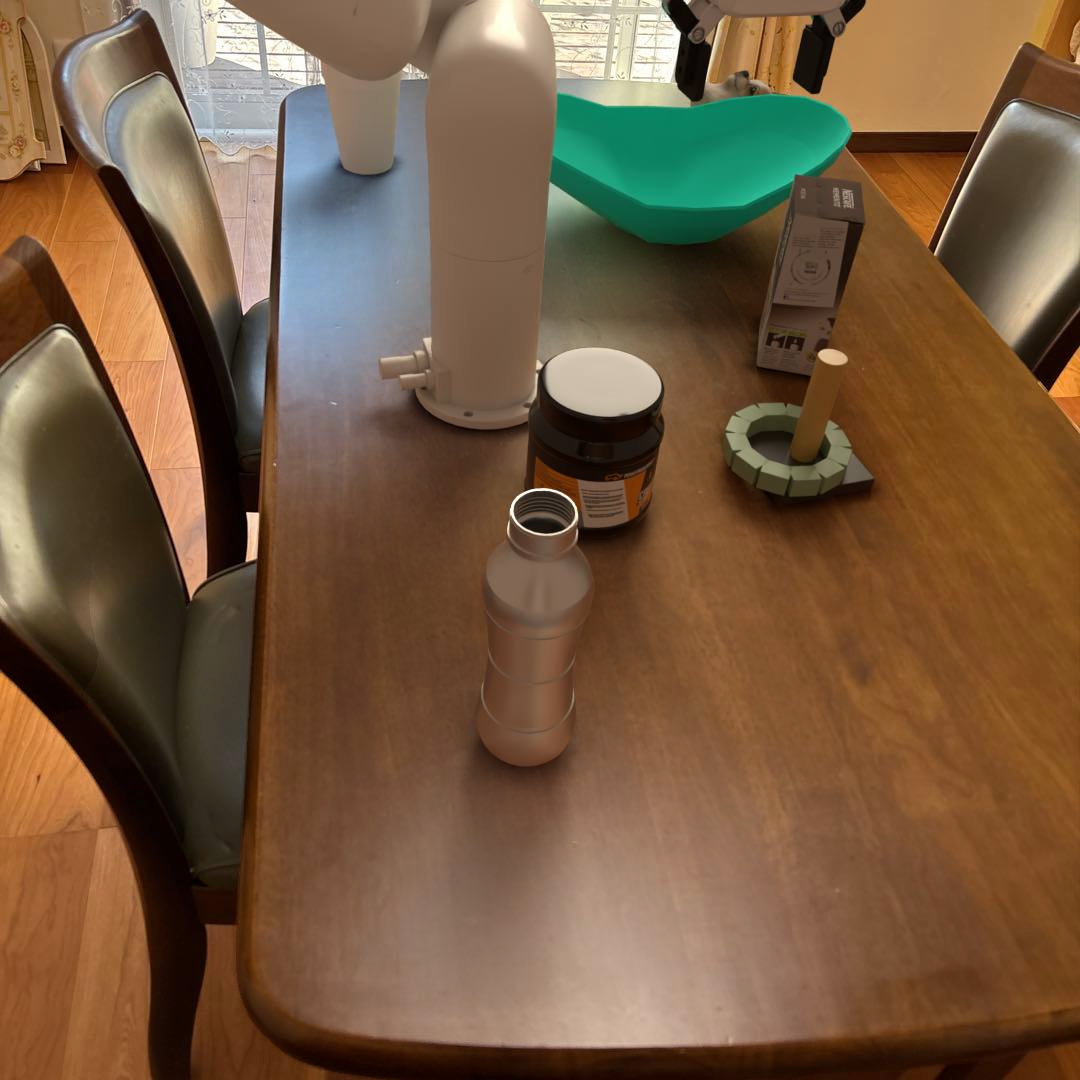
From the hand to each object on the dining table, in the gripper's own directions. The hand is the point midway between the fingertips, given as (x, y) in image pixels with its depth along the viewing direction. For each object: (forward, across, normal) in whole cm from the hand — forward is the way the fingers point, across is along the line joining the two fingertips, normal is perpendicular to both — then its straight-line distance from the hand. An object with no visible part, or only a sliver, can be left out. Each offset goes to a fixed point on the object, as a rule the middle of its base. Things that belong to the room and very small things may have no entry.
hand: (748, 91), depth 76 cm
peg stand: (+28, +6, -11) cm, 31 cm away
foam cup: (+28, -19, +56) cm, 66 cm away
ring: (+27, +4, -11) cm, 29 cm away
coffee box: (+28, +14, +6) cm, 32 cm away
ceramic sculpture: (+28, +33, +57) cm, 72 cm away
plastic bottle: (+28, -26, -32) cm, 50 cm away
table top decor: (+28, +11, +33) cm, 45 cm away
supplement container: (+28, -14, -11) cm, 34 cm away
